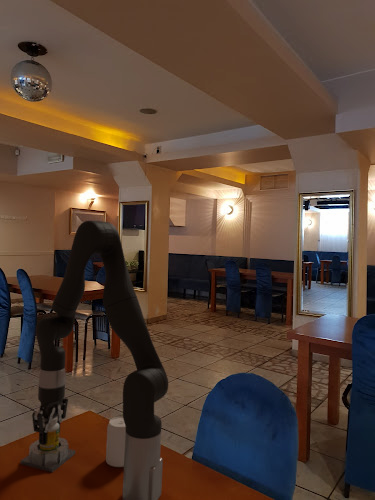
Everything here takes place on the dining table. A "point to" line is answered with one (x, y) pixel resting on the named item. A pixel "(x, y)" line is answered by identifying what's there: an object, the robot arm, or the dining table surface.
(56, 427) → the supplement bottle
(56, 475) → the dining table surface
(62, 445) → the rosette collar
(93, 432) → the dining table surface
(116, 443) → the beverage can
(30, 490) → the dining table surface
